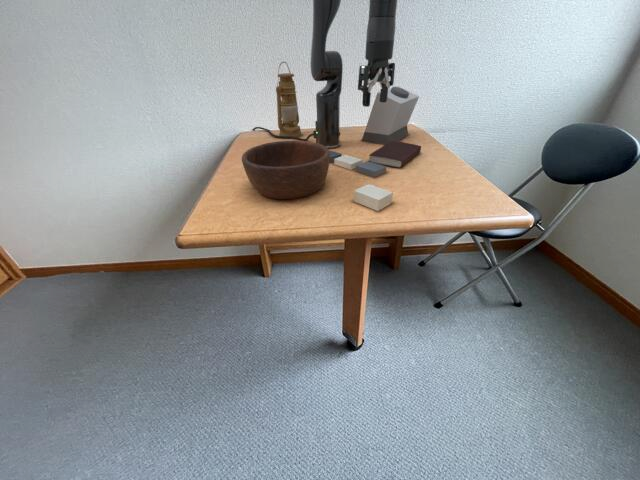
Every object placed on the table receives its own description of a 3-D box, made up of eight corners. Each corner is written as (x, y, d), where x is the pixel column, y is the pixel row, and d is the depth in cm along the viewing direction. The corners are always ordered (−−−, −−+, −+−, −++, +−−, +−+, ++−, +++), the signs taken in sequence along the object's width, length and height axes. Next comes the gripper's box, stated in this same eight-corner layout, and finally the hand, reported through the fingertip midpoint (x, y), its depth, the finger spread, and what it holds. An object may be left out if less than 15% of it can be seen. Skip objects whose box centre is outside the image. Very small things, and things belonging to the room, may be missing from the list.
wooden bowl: (239, 206, 74) (231, 169, 68) (255, 172, 94) (250, 141, 88) (332, 203, 74) (332, 166, 68) (328, 169, 94) (328, 138, 88)
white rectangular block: (353, 201, 74) (354, 190, 73) (367, 194, 78) (368, 183, 76) (377, 211, 70) (378, 199, 68) (391, 203, 73) (393, 192, 71)
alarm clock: (381, 130, 135) (386, 83, 123) (413, 134, 127) (421, 84, 116) (361, 140, 122) (364, 88, 110) (395, 146, 114) (402, 90, 102)
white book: (334, 164, 98) (334, 158, 97) (345, 160, 102) (345, 154, 100) (351, 169, 93) (351, 164, 92) (362, 165, 97) (362, 159, 96)
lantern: (286, 130, 140) (279, 60, 123) (305, 131, 138) (301, 60, 121) (274, 138, 129) (265, 62, 111) (295, 139, 126) (289, 62, 109)
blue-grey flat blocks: (315, 158, 104) (315, 152, 103) (326, 154, 108) (326, 149, 107) (374, 177, 87) (375, 171, 86) (385, 172, 91) (386, 166, 90)
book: (420, 153, 105) (422, 144, 103) (401, 169, 93) (402, 159, 91) (389, 148, 111) (390, 140, 110) (367, 162, 99) (368, 153, 97)
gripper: (384, 38, 81) (378, 99, 91) (352, 39, 73) (350, 106, 83) (406, 38, 77) (398, 102, 86) (375, 38, 69) (370, 109, 78)
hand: (374, 104), depth 84 cm, fingers open, 8 cm apart
